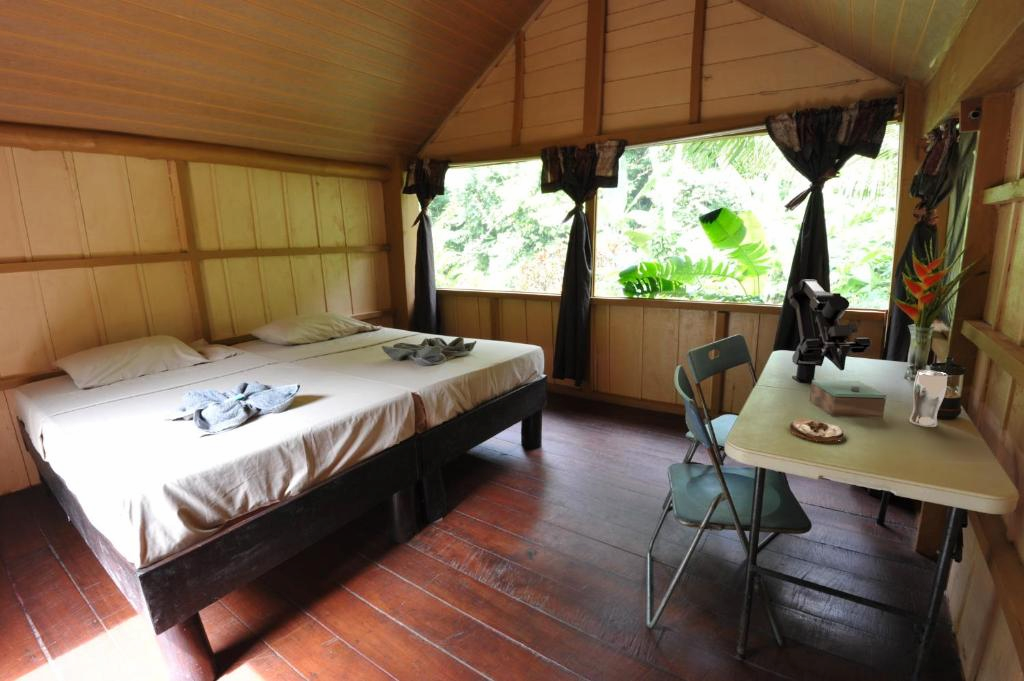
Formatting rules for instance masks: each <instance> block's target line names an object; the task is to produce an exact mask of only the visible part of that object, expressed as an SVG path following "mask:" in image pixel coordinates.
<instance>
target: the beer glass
mask: <svg viewBox="0 0 1024 681" xmlns="http://www.w3.org/2000/svg"><path fill="white" fill-rule="evenodd" d="M916 372H917V373H916V375H915V378H914V382H913V389H912V396H913V397H912V399H913V400H912V401H913V403H912V404H913V408H912V412H911V415H910V417H909V422H910V423H911V424H914V425H916V426H920V427H924V428H936V427H937V426H938V420H937V419H938V417H937V416H938V411H939V409H940V407H941V405H942V404H943V403H942V402H943V401H944V398H945V396H946V391H947V387H948V386H947V384H948V374H947V373H945V372H942V371H936V370H929V369H919V370H917V371H916Z"/></svg>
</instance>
